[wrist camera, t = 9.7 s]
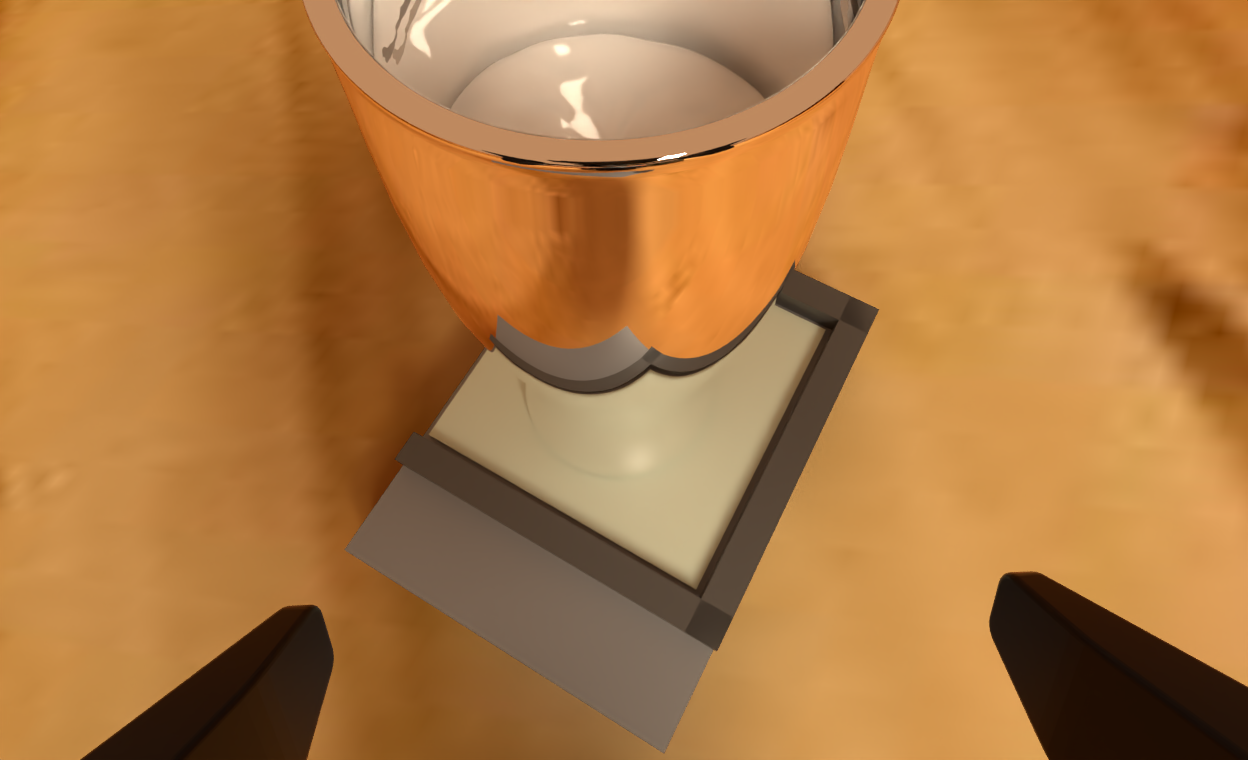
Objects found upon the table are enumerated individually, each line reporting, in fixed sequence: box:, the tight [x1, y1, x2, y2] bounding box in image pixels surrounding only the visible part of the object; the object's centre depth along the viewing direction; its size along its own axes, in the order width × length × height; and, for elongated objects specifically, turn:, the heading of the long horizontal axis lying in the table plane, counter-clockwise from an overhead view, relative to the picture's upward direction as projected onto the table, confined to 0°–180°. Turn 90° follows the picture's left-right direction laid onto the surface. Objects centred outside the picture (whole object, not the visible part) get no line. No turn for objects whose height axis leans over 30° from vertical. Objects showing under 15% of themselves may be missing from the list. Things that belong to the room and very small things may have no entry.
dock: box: [345, 270, 879, 753], centre depth 21 cm, size 15×11×3 cm
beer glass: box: [302, 0, 900, 477], centre depth 14 cm, size 7×7×15 cm
